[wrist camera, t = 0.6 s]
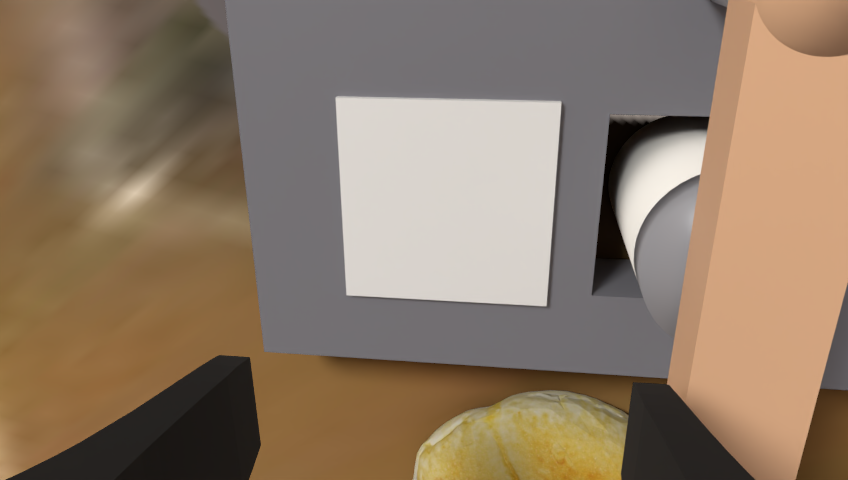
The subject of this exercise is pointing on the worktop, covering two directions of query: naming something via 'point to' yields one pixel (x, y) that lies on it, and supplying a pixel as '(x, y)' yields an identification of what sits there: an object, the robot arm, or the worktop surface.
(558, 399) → the bread roll
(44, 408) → the worktop surface
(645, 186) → the plug
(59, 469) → the robot arm
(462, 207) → the socket panel
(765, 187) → the tan long bar
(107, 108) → the worktop surface
